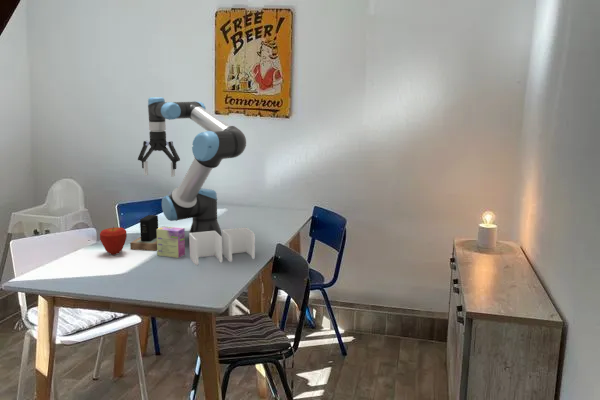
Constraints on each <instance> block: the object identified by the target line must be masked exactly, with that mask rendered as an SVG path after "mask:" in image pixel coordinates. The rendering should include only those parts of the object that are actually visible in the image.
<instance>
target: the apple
mask: <svg viewBox="0 0 600 400" xmlns="http://www.w3.org/2000/svg"><path fill="white" fill-rule="evenodd" d="M127 237H128V236H127V230H126V229H125V228H123V227H120V226H119V227H114V226H112V227H108V228H104V229H102V230H101V231H100V232H99V240H100V243H101V244H102V246H103V248H104V250H105V251H106V252H107V253H108V254H110V255H112V256H113V255H114V256H115V255H118V254H120V253H121V252H122V251H123V248H124V246H125V244H126V240H127Z"/></svg>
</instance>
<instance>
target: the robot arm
mask: <svg viewBox="0 0 600 400" xmlns="http://www.w3.org/2000/svg"><path fill="white" fill-rule="evenodd" d="M147 99H148V100H147V112H148V130H149V133H148V134H149V141H148V140H143V143H142V148H141V149H140V153H139V155H138V158H137V161H139V162H141V168H142V169H143V176H144V177H145V176H148V175H149V167H148V163H149V162H148V161H147V160H148V158H149V157H150V156H151V155H152V153H153V152H157V151H158V152H161V151H162V152H163V153H164V154H165V155H166V157H168V159H169V160H170V161H171V162H170V175H171V176H170V177H175V176H176V169H177V162H180V161H181V158H180V156H179V154H178V152H177V150H176V148H175V147H174V142H173V141H172V140H171V141H170V140H169V141H167V133H166V129H167V128H166V120H169V121H170V120H177V119H181V120H182V119H189V120H191V121H193V123H196V124H197V125H198V126H199V127H201V128H203V130H205V131H202V132H201V131H200V132H199V133H197V134H196V136H195V137H194V138H193V141H192V147H191V151H192V155H193V157H194V158H193V160H192V162H191V164H190V166H189V168H188V169H187V170H186V174H185V175H184V177H183V178H182V181H181V182H180V184H179V186H178V187H175V188H174V189H173V190H172V192H171V194H169V195H168V194H167V195H165V196H163V197H162V198H161V209H162V213H163V216H165V218H166V219H167V220H168V221H170V222H177V221H182V220H186V219H187V220H188V219H192V223H191V225H190V229H189V232H188V234H189V233H195V232H206V231H216V232H217V233H218V234H219V235H220V236H221V237H222V229H221V228H220V226H221V225H220V224H219V222H218V197H217V194H218V193H217V191H216V190H214V189H210V188H202V187H203V185H204V184H205V182H206V180H207V179H208V177H209V175H210V173H211V172H212V170H213V169H215V168H217V167H219V165H220V164H221V163H222V160H224V159H225V160H226V159H233V158H237V157H239V156H241V155H242V154H243V153H244V151H245V149H246V146H247V139H246V138H247V137H246V136H245V134H244V133H243V131H242V130H241V129H239V128H237V127H236V126H235V125H230V124H228V123H226V122H224V121H223V120H222V119H220V118H219V117H217V116H216V115H214V114H213V113H211V112H210V111H208V110H207V109H206V106H205V104H204V103H203V102H202V101H195V100H194V101H173V102H172V101H166V102H165V98H164V97H160V96H159V97H158V96H157V97H155V96H154V97H149V98H147ZM148 146H150V147H149V149H148ZM167 146H168V148H167ZM147 149H148V150H147ZM169 150H170V151H169ZM146 151H147V152H146Z"/></svg>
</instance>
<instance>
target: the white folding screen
mask: <svg viewBox="0 0 600 400" xmlns="http://www.w3.org/2000/svg"><path fill="white" fill-rule="evenodd" d="M255 236H256V235H255V232H253V231H252V230H251V229H249V228H248V227H239V228H228V229H227V228H226V229H221V236H220V235H219V234H218V233H217V232H216V231H206V232H195V233H189V232H188V238H189V259H190V260H191V261H192V263H194V265H195V266H199V262H200V261H199V258H204V257H214V256H215V257H216V258H217V260H219V263H223V256H224V257H225V258H226V259H227V260H228V262H233V254H239V253H240V254H241V253H247V254H248V255H249V256H251V259H253V260H254V259H256V247H255V246H256V242H255V241H256V239H255Z"/></svg>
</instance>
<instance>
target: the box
mask: <svg viewBox="0 0 600 400" xmlns="http://www.w3.org/2000/svg"><path fill="white" fill-rule="evenodd" d="M185 234H186V233H185V227H184V228H183V227H175V226H165V225H163V226H160V227H158V229H157V251H156V254H157V256H159V257H168V258H173V259H174V258H176V259H179V258H182V257H183V256H185V255H186V241H185V240H186V237H185Z"/></svg>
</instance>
